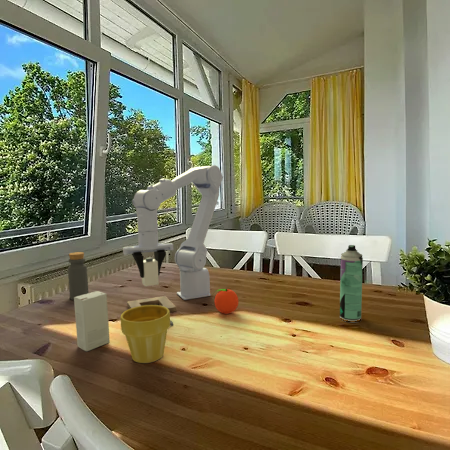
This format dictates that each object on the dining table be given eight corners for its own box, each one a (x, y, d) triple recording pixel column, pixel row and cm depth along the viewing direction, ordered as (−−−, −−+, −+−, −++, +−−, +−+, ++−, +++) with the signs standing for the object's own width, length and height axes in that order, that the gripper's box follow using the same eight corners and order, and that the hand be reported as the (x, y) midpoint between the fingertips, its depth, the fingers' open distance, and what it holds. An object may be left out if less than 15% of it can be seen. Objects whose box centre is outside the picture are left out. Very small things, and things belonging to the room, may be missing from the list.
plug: (155, 281, 109) (154, 256, 108) (158, 284, 105) (157, 258, 104) (142, 283, 107) (141, 257, 106) (145, 286, 103) (143, 260, 103)
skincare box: (100, 338, 86) (97, 289, 85) (110, 343, 83) (108, 293, 82) (76, 347, 81) (72, 296, 80) (86, 353, 79) (82, 300, 77)
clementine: (207, 315, 100) (206, 290, 99) (216, 307, 107) (215, 284, 106) (234, 318, 97) (233, 293, 97) (241, 310, 104) (241, 286, 103)
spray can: (360, 316, 97) (362, 244, 95) (361, 323, 92) (363, 247, 90) (339, 314, 99) (341, 243, 97) (339, 321, 94) (340, 246, 92)
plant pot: (112, 363, 74) (109, 318, 73) (140, 342, 83) (138, 302, 82) (155, 372, 70) (153, 324, 69) (180, 349, 80) (178, 307, 78)
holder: (165, 299, 115) (165, 295, 115) (176, 310, 104) (176, 306, 104) (127, 305, 110) (127, 301, 110) (135, 318, 99) (134, 313, 99)
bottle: (82, 300, 115) (79, 255, 114) (66, 299, 117) (62, 254, 115) (92, 295, 121) (89, 251, 119) (76, 294, 122) (74, 251, 121)
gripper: (168, 227, 111) (169, 270, 113) (120, 231, 105) (122, 276, 106) (174, 230, 105) (176, 275, 106) (124, 233, 99) (126, 281, 100)
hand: (149, 276), depth 106 cm, fingers closed on plug, 4 cm apart
